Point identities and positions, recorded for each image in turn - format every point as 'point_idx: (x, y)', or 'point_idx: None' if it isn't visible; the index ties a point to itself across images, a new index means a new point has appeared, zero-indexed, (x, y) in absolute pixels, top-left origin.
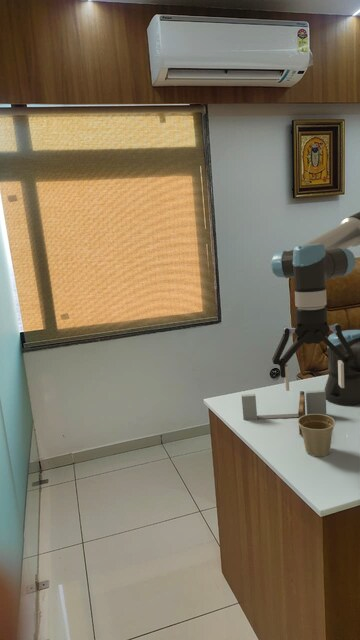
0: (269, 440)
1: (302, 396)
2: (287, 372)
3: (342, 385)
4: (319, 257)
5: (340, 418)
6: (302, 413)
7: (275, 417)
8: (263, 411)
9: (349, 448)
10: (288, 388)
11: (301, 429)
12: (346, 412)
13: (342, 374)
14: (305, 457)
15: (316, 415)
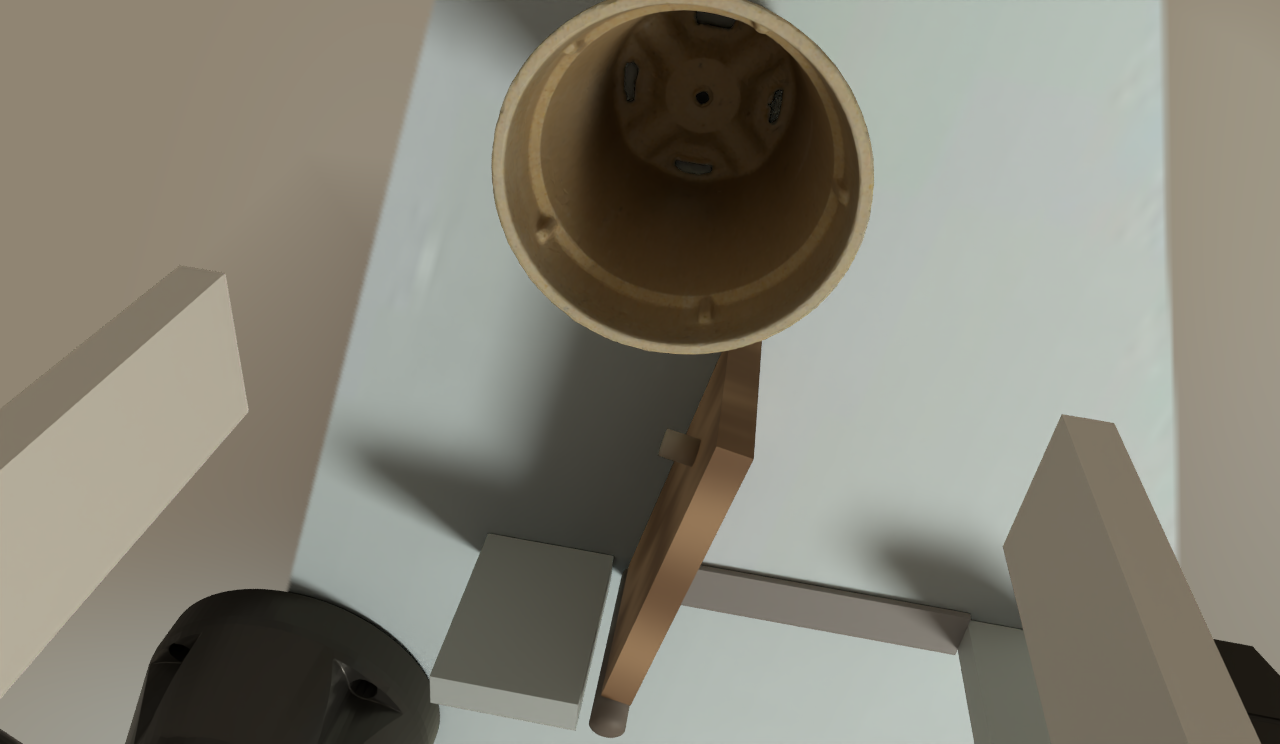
0: (1013, 333)
1: (621, 677)
2: (1194, 698)
3: (181, 290)
4: None
5: (408, 481)
6: (719, 439)
7: (836, 599)
8: (880, 690)
9: (453, 79)
10: (1086, 441)
11: (848, 152)
12: (352, 536)
13: (43, 398)
14: (839, 12)
15: (626, 327)
